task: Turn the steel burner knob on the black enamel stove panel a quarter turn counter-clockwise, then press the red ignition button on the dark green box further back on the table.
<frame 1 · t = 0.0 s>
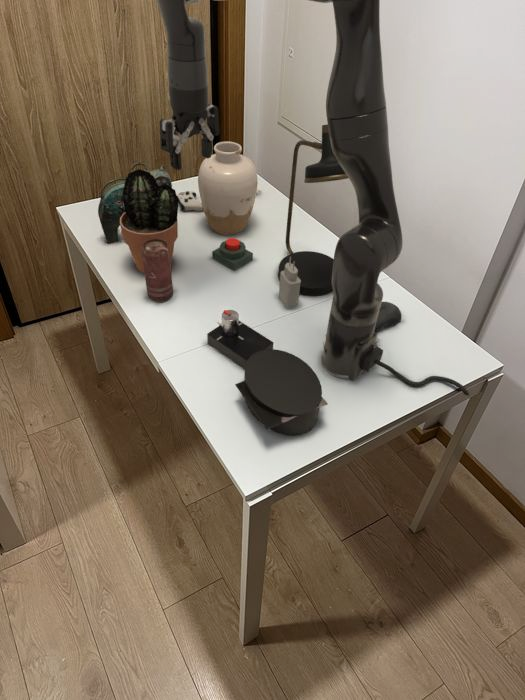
hand: (192, 162, 114), 29 cm above the table, tool pointing down, fingers open, 8 cm apart
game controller: (189, 205, 159), on the table
potted plant: (154, 265, 136), on the table
vase: (227, 226, 152), on the table
ceramic cat: (140, 235, 146), on the table
ignition button: (232, 244, 136), point 4 cm above the table, slide at 0.1 cm
power adapter: (288, 301, 128), on the table
burner knob: (230, 322, 113), point 5 cm above the table, hinge at 0.0°
stove panel: (240, 348, 116), on the table
can: (161, 296, 128), on the table
computer mouse: (376, 324, 124), on the table
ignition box: (232, 259, 140), on the table
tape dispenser: (277, 403, 105), on the table
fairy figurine: (240, 195, 165), on the table
lamp: (305, 273, 137), on the table
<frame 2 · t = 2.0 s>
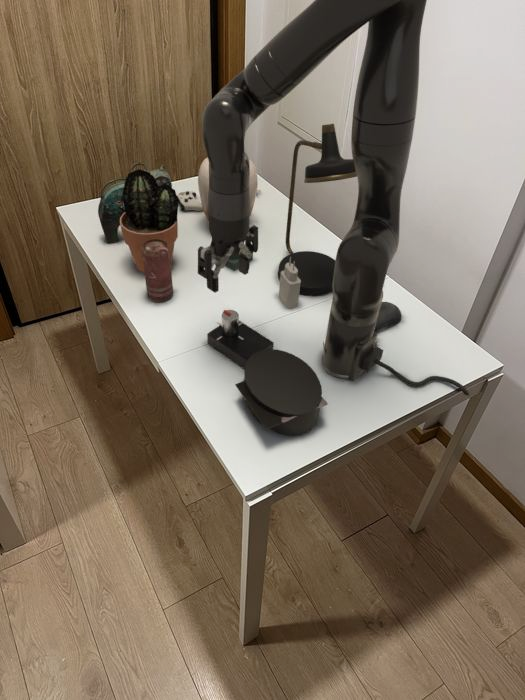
hand: (228, 281, 107), 15 cm above the table, tool pointing down, fingers open, 8 cm apart
nothing on the table moved.
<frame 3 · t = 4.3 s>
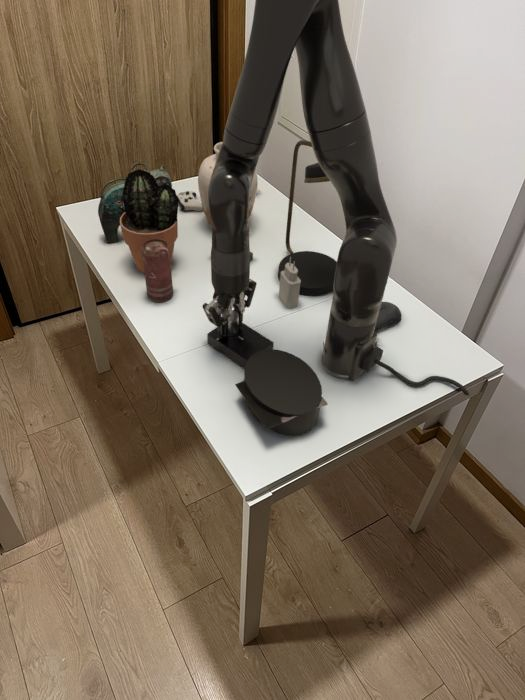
hand: (230, 329, 115), 4 cm above the table, tool pointing down, fingers closed on burner knob, 3 cm apart
burner knob: (230, 322, 113), point 5 cm above the table, hinge at -0.1°, touching gripper
everything else where it was.
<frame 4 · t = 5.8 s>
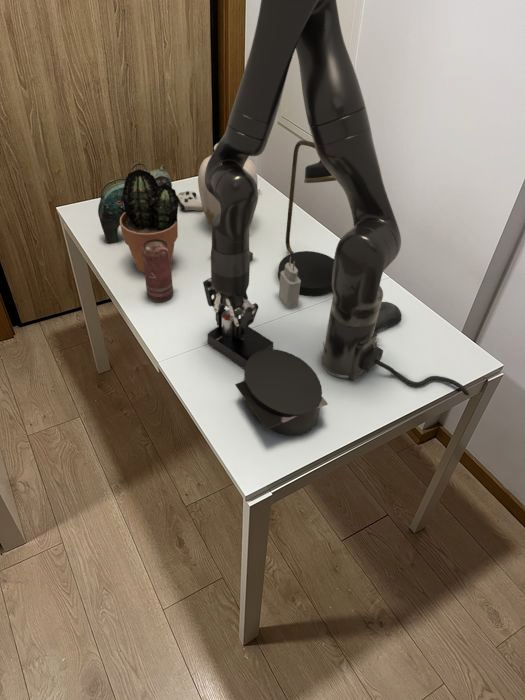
hand: (229, 329, 115), 3 cm above the table, tool pointing down, fingers open, 4 cm apart
burner knob: (230, 322, 113), point 5 cm above the table, hinge at 92.3°
everything else where it was.
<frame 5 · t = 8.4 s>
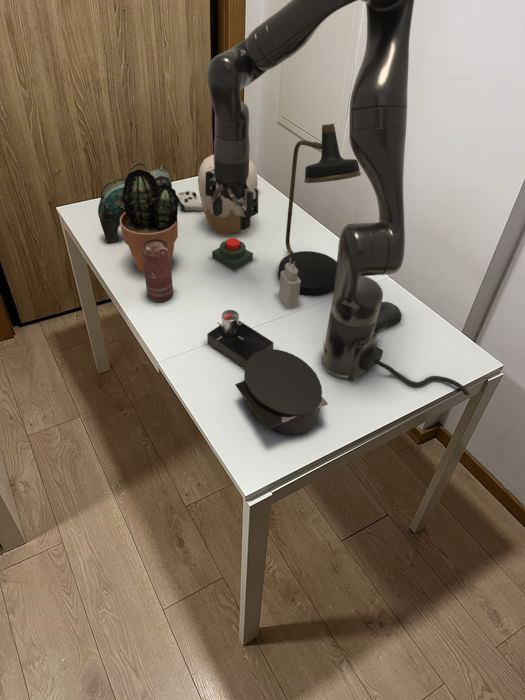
hand: (231, 221, 124), 15 cm above the table, tool pointing down, fingers open, 8 cm apart
nothing on the table moved.
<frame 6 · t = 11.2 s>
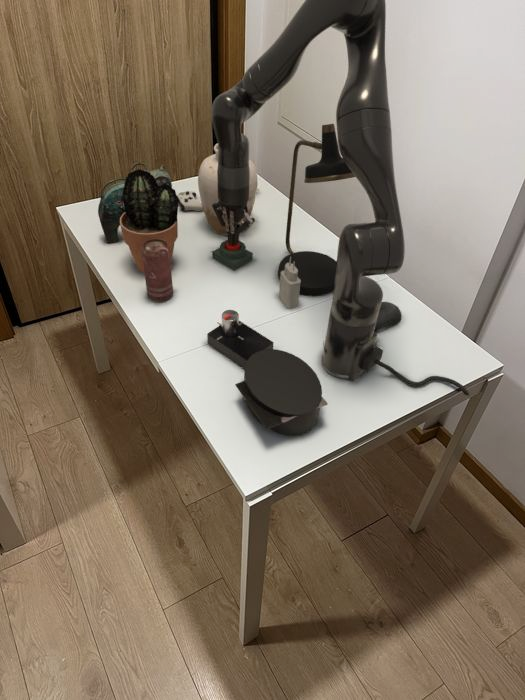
hand: (232, 243, 136), 5 cm above the table, tool pointing down, fingers closed
ignition button: (232, 246, 137), point 4 cm above the table, slide at -0.5 cm, touching gripper
everything else where it was.
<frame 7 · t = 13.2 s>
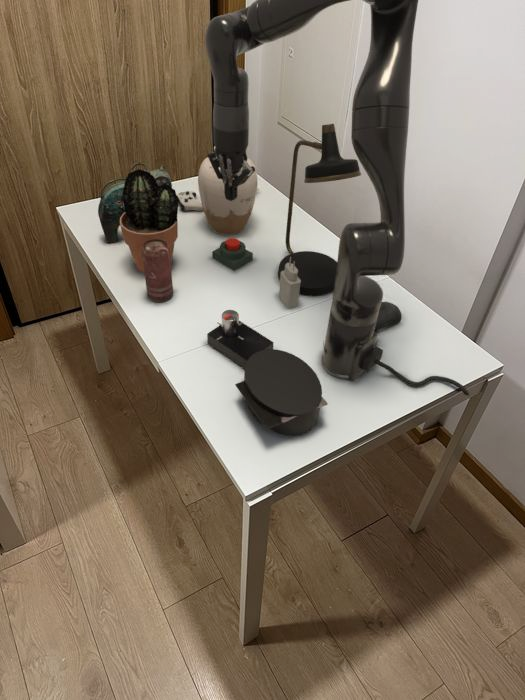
hand: (230, 198, 124), 19 cm above the table, tool pointing down, fingers closed
ignition button: (232, 244, 136), point 5 cm above the table, slide at 0.1 cm
everything else where it was.
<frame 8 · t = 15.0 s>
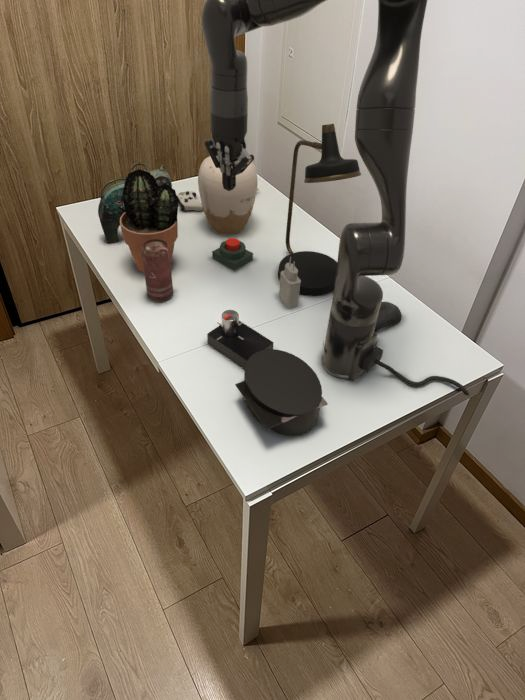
hand: (228, 188, 119), 23 cm above the table, tool pointing down, fingers closed
at the end: burner knob at +92° (first picture: +0°); ignition button pushed in 1.1 cm at the most during the clip, back to where it started at the end; ignition button slide at 0.1 cm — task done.
